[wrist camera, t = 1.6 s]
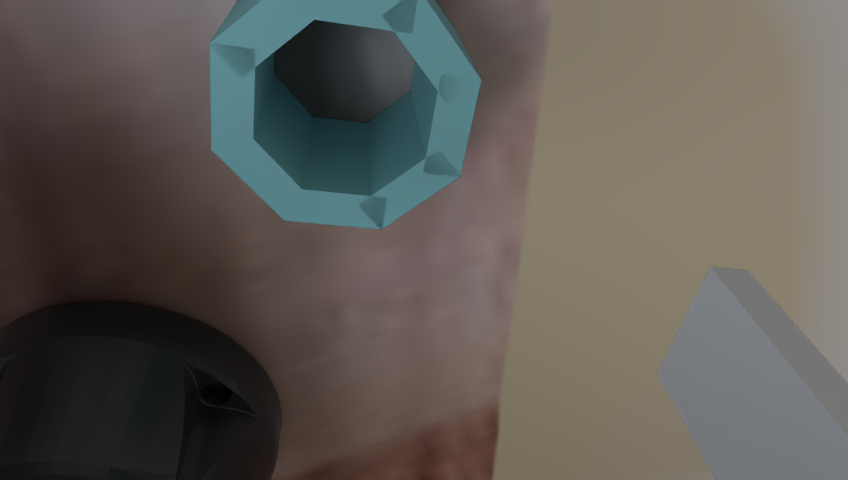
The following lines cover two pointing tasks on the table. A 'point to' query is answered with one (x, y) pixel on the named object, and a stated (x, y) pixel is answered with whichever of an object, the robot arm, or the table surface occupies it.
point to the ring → (338, 139)
